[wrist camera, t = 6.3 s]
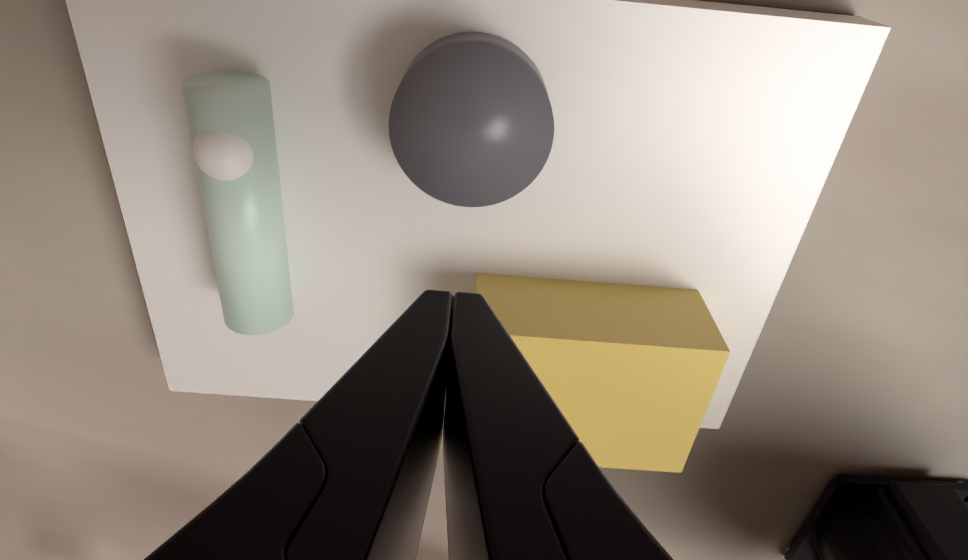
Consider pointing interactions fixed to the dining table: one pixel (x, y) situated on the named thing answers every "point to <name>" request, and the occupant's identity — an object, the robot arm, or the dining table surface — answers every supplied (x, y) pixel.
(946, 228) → the dining table surface
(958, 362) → the dining table surface
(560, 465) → the robot arm
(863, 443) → the dining table surface
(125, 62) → the instrument board
